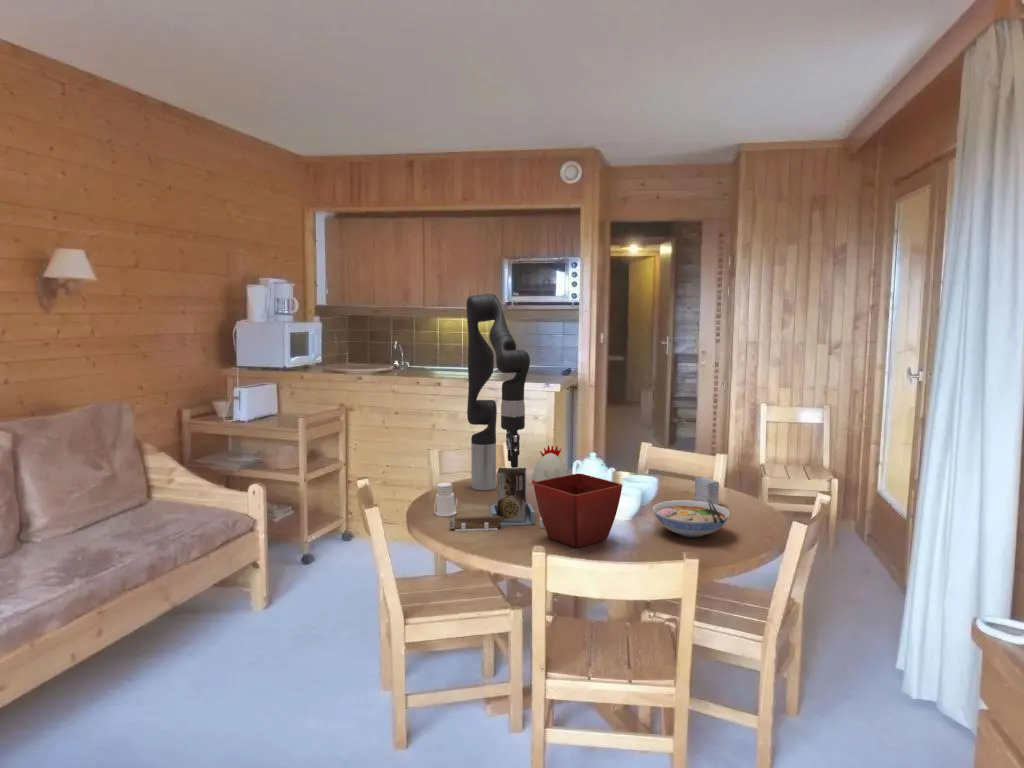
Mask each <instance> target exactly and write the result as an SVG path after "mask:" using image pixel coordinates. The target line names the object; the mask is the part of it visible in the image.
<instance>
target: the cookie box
mask: <svg viewBox="0 0 1024 768" xmlns="http://www.w3.org/2000/svg"><path fill="white" fill-rule="evenodd" d="M496 488H497V493H496V494H497V504H498V516H500V517H501V522H526V518H527V514H526V503H527V468H526V467H517V468H512V467H498V470H497V471H496Z"/></svg>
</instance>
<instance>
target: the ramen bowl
mask: <svg viewBox="0 0 1024 768" xmlns="http://www.w3.org/2000/svg"><path fill="white" fill-rule="evenodd" d="M707 500H708V499H707ZM709 500H710V499H709ZM710 502H711V501H710ZM652 511H653V513H654V515H655V517H656V518H657V520H658V521H659V523H660V524H661V526H663V527H664V528H666V529H667V530H669V531H670V532H673V533H675V534H677V535H679V536H682V537H684V538H685V537H686V538H700V537H703V536H706V535H711V534H713V533H714V532H716V531H718V530H720V529H721V528H722V527H723V526H724V525H725V524H726V523H727V521H728V519H729V517H730V514H731V511H729V510H728V508H726V507H723V506H721V505H719V504H718V505H716V504H712V502H711V503H709V501H708V503H707V502H701V501H695V500H689V499H686V500H685V499H683V500H681V499H679V500H677V499H674V500H667V501H661V502H658V503H656V504H654V505H653V506H652Z"/></svg>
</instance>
